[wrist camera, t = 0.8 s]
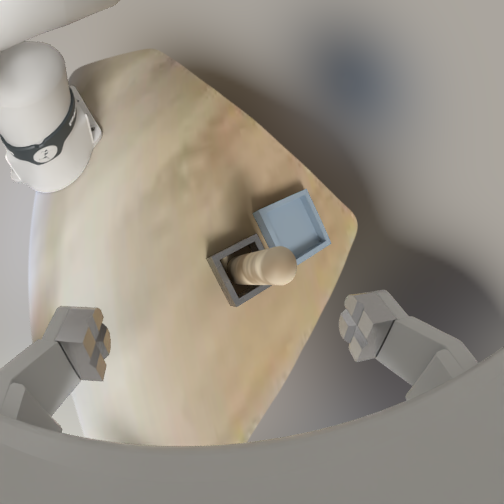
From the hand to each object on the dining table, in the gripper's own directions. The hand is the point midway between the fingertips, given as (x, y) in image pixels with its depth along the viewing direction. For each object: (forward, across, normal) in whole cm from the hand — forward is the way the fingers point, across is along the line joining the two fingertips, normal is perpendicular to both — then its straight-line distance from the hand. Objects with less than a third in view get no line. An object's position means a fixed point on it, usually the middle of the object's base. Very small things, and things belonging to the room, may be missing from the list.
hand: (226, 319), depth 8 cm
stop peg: (+34, -6, +20) cm, 39 cm away
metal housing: (+34, -6, +20) cm, 39 cm away
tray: (+40, -16, +15) cm, 46 cm away
